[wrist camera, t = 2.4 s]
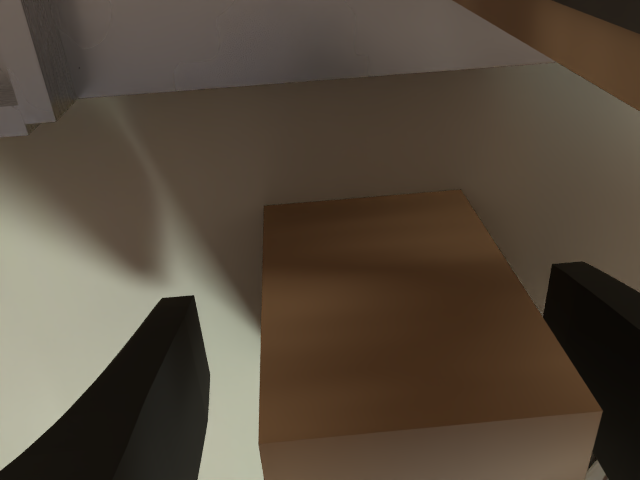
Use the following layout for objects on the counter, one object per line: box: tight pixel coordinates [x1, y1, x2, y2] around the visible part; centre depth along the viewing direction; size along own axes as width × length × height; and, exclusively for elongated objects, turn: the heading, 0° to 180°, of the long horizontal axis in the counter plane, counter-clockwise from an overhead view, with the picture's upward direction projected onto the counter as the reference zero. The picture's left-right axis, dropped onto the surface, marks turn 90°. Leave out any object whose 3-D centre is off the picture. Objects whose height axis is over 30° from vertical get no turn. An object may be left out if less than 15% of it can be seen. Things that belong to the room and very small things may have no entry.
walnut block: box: [258, 189, 603, 480], centre depth 10 cm, size 4×4×6 cm
